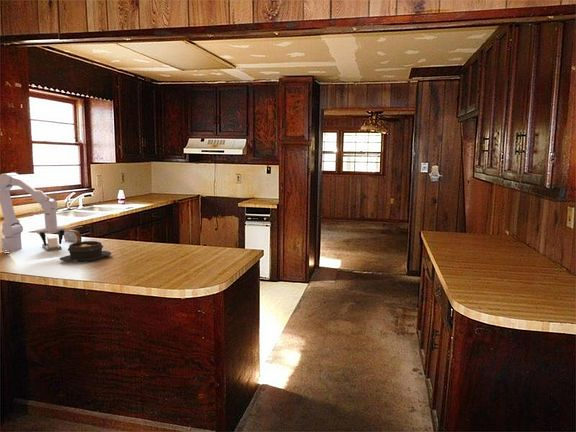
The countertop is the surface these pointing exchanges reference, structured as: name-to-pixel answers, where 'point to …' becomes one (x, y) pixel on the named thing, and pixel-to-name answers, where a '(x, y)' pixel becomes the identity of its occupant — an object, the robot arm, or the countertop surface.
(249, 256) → the countertop surface
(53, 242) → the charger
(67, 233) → the tin
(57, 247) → the grey rectangular hollow block
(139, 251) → the countertop surface
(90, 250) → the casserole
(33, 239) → the countertop surface
